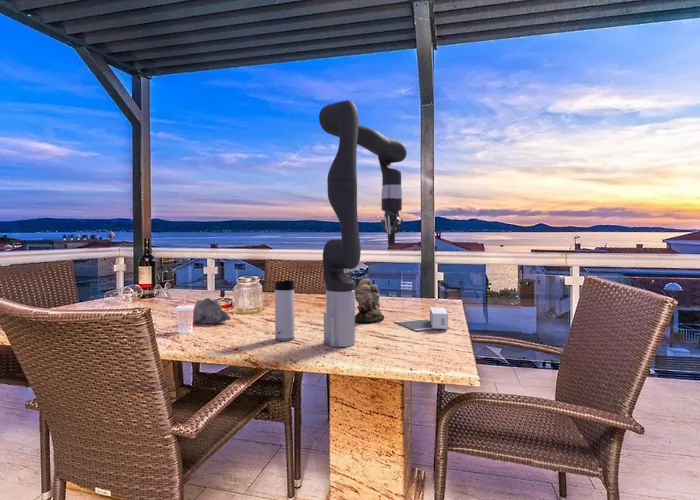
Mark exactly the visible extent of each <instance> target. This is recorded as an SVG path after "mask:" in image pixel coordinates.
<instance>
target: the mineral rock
mask: <svg viewBox="0 0 700 500" xmlns="http://www.w3.org/2000/svg"><path fill="white" fill-rule="evenodd" d="M228 313H229V312H227V311H225V310H224V309H222V306H221V305H220V304H219V302H216V301H214V300H213V299H211V298H209V297H207V298H204V299H203V300H201V299H199V300H196V303H195V304H194V310H193V325H194V324H196V325H199V324H202V325H203V324H217V323H224V322H226V321H230V320H231V319H232V318H231V316H230V315H229V314H228Z"/></svg>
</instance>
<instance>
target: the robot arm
mask: <svg viewBox="0 0 700 500" xmlns="http://www.w3.org/2000/svg"><path fill="white" fill-rule="evenodd" d="M318 120H319V121H318V122H319V124H320V127H321V129H322V130H323V131H324V132H325V133H327V134H329V135H331V136H335V137H338V138H339V141H338V142H339V143H338V147H337V148H338V149H337V152H336V154H335V157H334V159H333V161H332V163H331V165H330V168H329V171H328V172H327V181H326V182H327V183H326V184H327V199H328V201H329V203H330V204H329V205H330V206H331V209H332V211H334V213H335V215H336V217H337V219H338V222H339V225H340V231H341V232H340V233H341V238H340V239H338V238H337V239H335V238H334V239H329V240H328V241H327V242H326V243H324V247H323V250H322V269H323V273H322V274H323V281H324V284H325V312H324V313H323V343H324V344H325V345H327V346H328V347H330V348H342V347H343V348H346V347H352V346H353V345H355V343H356V322H355V316H356V298H355V296H356V295H355V290H356V282H355V281H354V280H353V279H352V278H350V277H349V276H348V275H347V274H346V273H345V270H354V269H355V268H357V267H358V266H359V263H360V260H361V241H360V239H361V238H360V230H359V222H358V220H359V219H358V176H357V173H358V172H357V150H358V146H359V147H362V148H364V149H365V150H367V151H369V152H370V153H372V154H374V155H375V156H377V158H378V159H377V160H378V162H379V166H380V170H381V171H380V172H381V175H382V177H381V179H382V181H381V182H382V183H381V185H382V186H381V187H382V188H381V204H380V205H381V211H383V212H384V215H383V217H384V218H383V219H381V220H380V223H381V226H382V228H383V232H384V233H385V234H386V235H387V245H391V246H394V245H395V242H396V234H398V233H399V232H400V229H401V227H402V224H403V222H404V220H403V219H402V218H400V213H399V212H400V211H402V209H403V202H402V201H403V189H402V171H401V170H400V169H397V168H393V167H392V165H391V164H393V163H400V162H403V161H404V160H405V159H406V157H407V155H408V154H407V153H408V152H407V148H406V146H405V145H404V143H402V142H401V141H399V140H396V139H393V138H390V137H386V136H385V135H383V134H382V133H381V132H379V131H378V130H375V129H373V128H372V127H368V126H364V125H360V122H359V111H358V108H357V106H356V104H355V103H354V101H352V100H347V99H346V100H341V101H337V102H334V103H330V104H327V105H325V106H323V107H322V108H321V109H320V111H319V115H318Z"/></svg>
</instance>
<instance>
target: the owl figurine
mask: <svg viewBox="0 0 700 500" xmlns="http://www.w3.org/2000/svg"><path fill="white" fill-rule="evenodd" d="M380 296H381V295H380V291H379V288H378V285H377V284H372V280H371V279H370V278H363V279H361V280H360V281H359V282H358V284H357V287H355V302H357V304H358V305H357V306H356V308H357V310H358V313H355V323H364V324H368V325H370V324H372V323H373V324H376V323H379V322H380V323H381V322H382V321H384V320H385V316H384V314H383V313H382V311H381V309H380V306H381V303H379V302H380Z"/></svg>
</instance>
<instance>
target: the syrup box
mask: <svg viewBox="0 0 700 500" xmlns="http://www.w3.org/2000/svg"><path fill="white" fill-rule="evenodd" d="M448 315H449V314H448V312H447V311H446V309H445V307H437V306H429V321H430V323H431V326H432V328H435V329H437V330H448V329H449V328H448V327H449V316H448Z"/></svg>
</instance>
